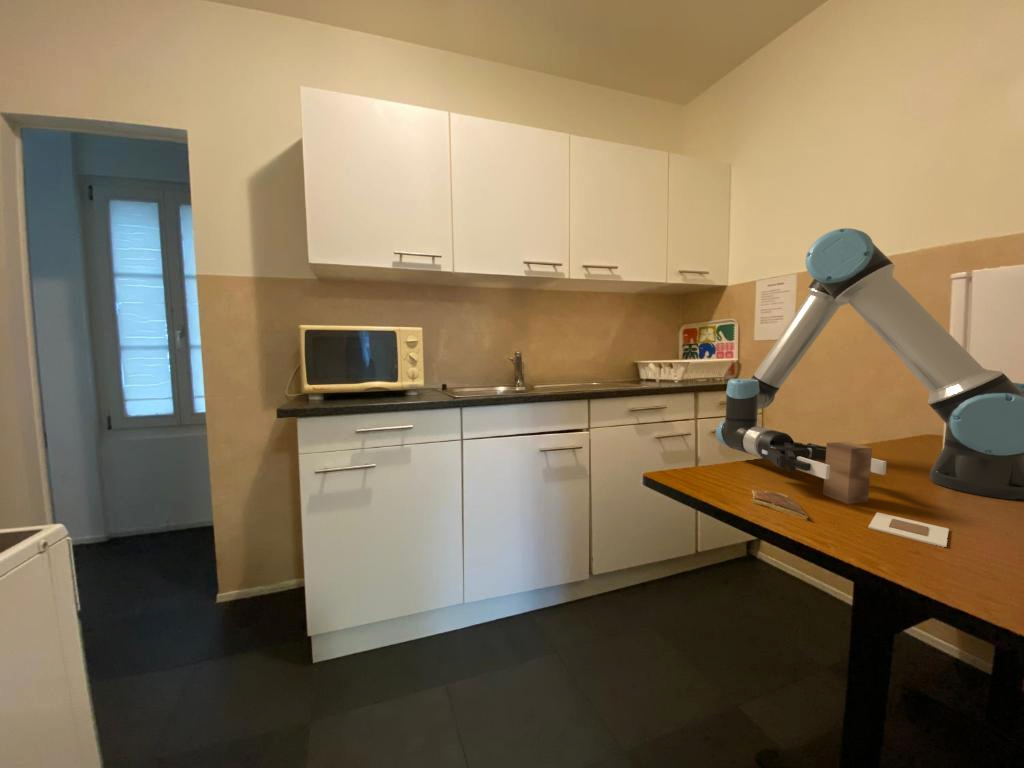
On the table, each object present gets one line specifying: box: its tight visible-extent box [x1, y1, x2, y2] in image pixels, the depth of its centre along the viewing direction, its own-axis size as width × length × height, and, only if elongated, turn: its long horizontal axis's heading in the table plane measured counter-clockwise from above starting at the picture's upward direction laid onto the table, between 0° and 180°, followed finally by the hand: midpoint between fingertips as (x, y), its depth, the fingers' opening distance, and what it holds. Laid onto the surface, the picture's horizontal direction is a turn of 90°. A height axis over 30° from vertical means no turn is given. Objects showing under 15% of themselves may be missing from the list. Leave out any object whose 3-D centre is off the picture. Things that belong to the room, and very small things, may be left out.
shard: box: [750, 489, 810, 521], centre depth 77 cm, size 11×8×2 cm
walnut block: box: [822, 441, 873, 505], centre depth 81 cm, size 5×5×11 cm
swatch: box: [867, 511, 950, 548], centre depth 68 cm, size 9×9×1 cm
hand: (856, 470), depth 79 cm, fingers open, 13 cm apart
